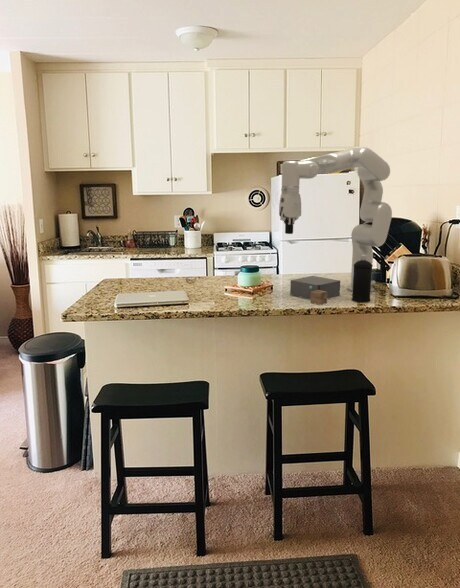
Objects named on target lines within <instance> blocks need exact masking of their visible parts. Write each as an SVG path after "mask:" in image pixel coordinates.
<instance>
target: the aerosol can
mask: <svg viewBox="0 0 460 588" xmlns="http://www.w3.org/2000/svg"><path fill="white" fill-rule="evenodd" d="M373 266H374V265H373V263H372V264H371V263H370V262H368V261H366V255H362V256H361V260H360V261H357V262H356V263H355V264H354V275H353V292H352V291H351V293H352V294H351V295H352V296H351V301H353V302H355V303H356V302H357V303H369V302H371V293H372V292H371V287H372V285H371V280H372V278H371V277H372V276H373V275H372V274H373Z"/></svg>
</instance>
